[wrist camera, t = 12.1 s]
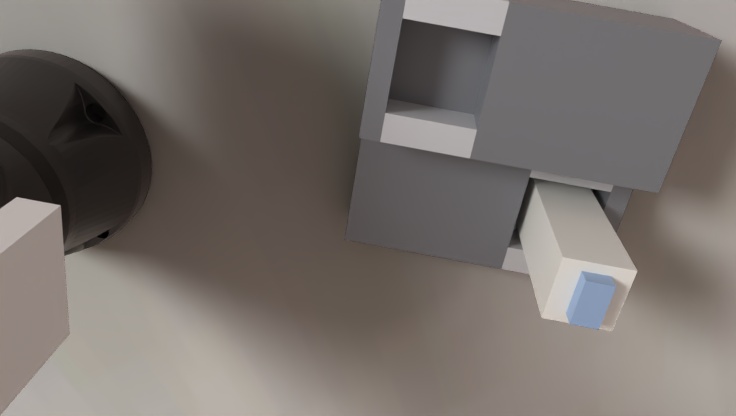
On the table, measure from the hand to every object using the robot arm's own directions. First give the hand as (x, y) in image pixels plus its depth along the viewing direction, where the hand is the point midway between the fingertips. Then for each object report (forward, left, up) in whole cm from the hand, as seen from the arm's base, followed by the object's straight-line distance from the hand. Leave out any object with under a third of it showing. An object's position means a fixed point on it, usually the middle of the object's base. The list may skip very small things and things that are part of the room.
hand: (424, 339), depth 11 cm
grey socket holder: (+6, -6, -33) cm, 34 cm away
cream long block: (+11, -10, -32) cm, 36 cm away
